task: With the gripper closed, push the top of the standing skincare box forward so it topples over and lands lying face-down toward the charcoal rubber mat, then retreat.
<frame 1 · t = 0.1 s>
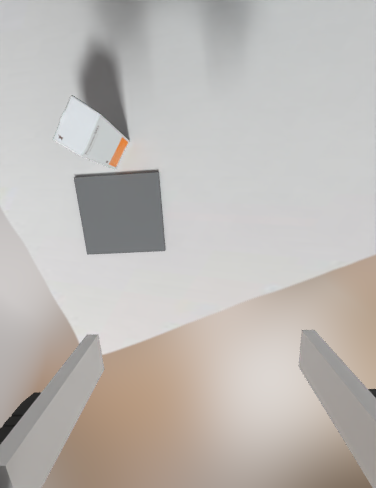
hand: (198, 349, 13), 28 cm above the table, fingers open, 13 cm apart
skincare box: (113, 149, 37), on the table
mat: (121, 215, 39), on the table
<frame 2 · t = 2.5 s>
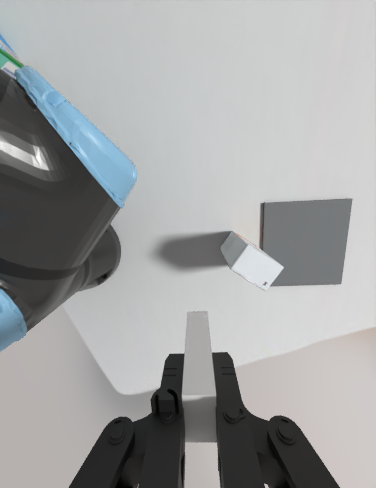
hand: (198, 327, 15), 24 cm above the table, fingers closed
skincare box: (237, 246, 38), on the table
mat: (303, 244, 37), on the table
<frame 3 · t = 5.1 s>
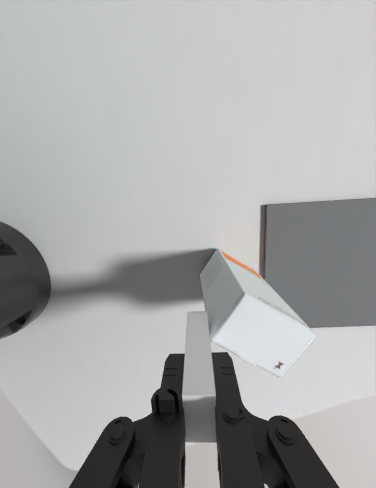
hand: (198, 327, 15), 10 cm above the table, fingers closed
skincare box: (227, 271, 25), on the table, touching gripper
mat: (326, 267, 24), on the table
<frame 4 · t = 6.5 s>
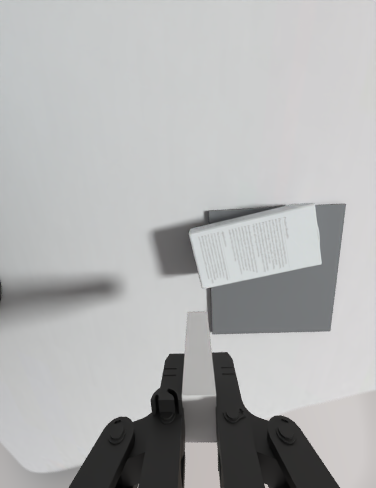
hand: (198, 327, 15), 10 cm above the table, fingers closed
skincare box: (193, 256, 22), point 3 cm above the table, touching mat
mat: (271, 273, 25), on the table
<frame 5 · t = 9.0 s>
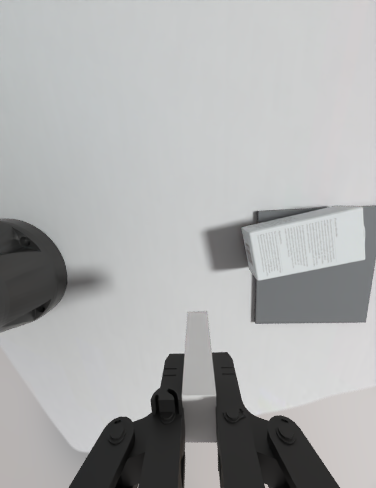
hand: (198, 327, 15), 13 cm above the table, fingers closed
skincare box: (246, 252, 24), point 3 cm above the table, touching mat
mat: (312, 268, 27), on the table
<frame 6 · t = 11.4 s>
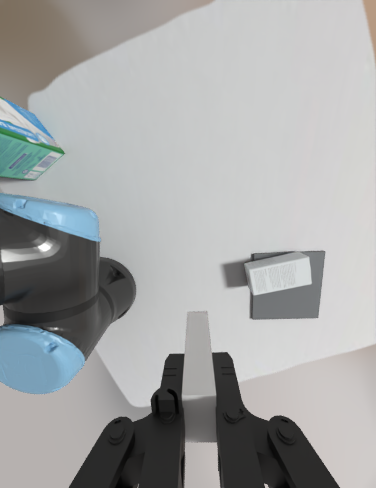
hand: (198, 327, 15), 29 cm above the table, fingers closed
milk carton: (35, 148, 41), on the table
skincare box: (247, 278, 43), point 3 cm above the table, touching mat
mat: (286, 286, 45), on the table
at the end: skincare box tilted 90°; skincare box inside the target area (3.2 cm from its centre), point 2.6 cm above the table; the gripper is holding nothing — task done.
